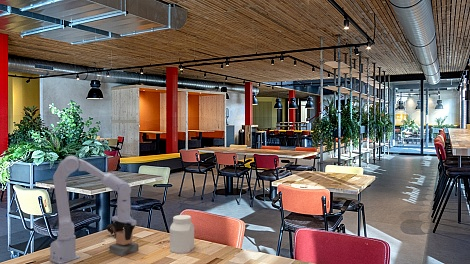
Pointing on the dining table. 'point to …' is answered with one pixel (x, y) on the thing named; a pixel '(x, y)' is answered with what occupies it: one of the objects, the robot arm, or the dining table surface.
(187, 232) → the jar
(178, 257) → the dining table surface
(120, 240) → the terracotta block
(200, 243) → the dining table surface
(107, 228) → the pottery mug
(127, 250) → the grey base block
